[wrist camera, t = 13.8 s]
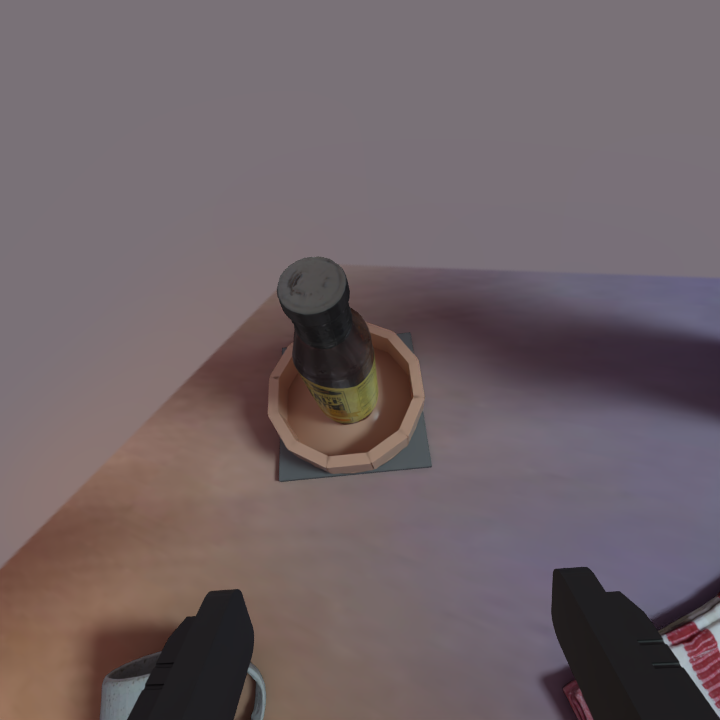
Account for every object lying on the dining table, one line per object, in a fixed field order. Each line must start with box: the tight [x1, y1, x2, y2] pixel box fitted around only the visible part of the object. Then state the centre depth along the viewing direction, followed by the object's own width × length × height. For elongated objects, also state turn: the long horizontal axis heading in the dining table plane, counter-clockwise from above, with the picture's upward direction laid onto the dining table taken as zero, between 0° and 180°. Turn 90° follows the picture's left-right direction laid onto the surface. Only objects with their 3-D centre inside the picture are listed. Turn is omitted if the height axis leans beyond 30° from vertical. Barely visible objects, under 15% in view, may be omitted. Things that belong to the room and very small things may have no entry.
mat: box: [279, 332, 432, 482], centre depth 39 cm, size 15×15×1 cm
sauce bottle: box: [277, 257, 378, 425], centre depth 29 cm, size 7×6×20 cm
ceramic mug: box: [100, 651, 266, 720], centre depth 26 cm, size 11×8×8 cm
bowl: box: [268, 322, 425, 474], centre depth 37 cm, size 15×15×4 cm
